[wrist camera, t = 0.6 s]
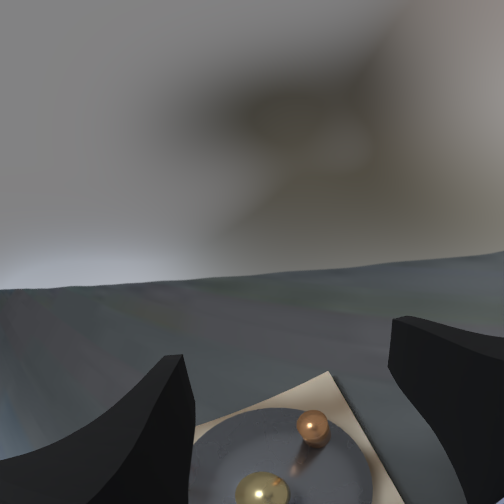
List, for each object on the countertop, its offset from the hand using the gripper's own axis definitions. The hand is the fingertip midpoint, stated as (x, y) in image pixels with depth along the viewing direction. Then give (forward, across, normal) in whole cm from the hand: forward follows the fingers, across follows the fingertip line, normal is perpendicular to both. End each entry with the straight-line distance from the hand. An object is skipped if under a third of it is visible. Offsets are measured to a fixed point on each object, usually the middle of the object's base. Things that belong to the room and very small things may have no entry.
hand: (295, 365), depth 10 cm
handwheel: (+4, +1, +16) cm, 16 cm away
